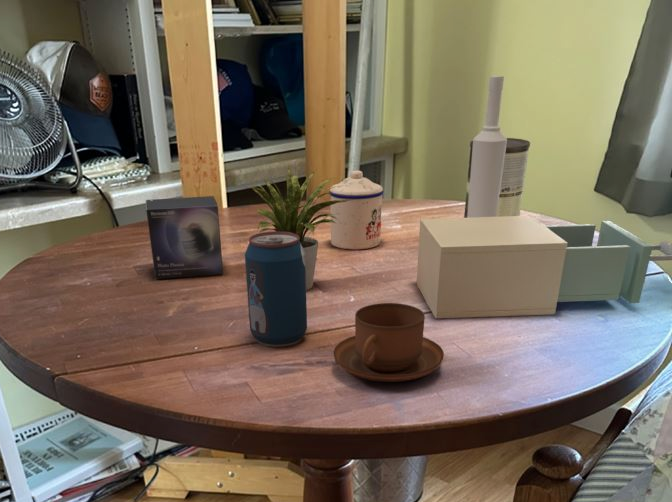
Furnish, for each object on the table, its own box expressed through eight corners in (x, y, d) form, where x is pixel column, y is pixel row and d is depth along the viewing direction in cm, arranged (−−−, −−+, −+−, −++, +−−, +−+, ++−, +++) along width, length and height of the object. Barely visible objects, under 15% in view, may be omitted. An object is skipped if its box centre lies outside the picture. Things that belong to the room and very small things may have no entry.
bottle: (500, 247, 118) (522, 76, 104) (478, 252, 115) (497, 78, 102) (478, 241, 121) (496, 74, 108) (456, 246, 119) (471, 76, 105)
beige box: (521, 280, 103) (531, 215, 98) (555, 314, 91) (567, 242, 86) (416, 283, 102) (420, 219, 97) (435, 318, 90) (441, 246, 85)
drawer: (647, 270, 102) (660, 219, 98) (693, 301, 91) (710, 244, 87) (500, 276, 102) (507, 224, 98) (528, 307, 90) (537, 249, 86)
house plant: (292, 312, 93) (287, 181, 84) (223, 291, 101) (212, 169, 92) (360, 286, 102) (362, 164, 93) (291, 268, 110) (287, 155, 101)
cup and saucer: (441, 395, 72) (446, 338, 68) (325, 388, 74) (325, 332, 70) (443, 349, 82) (448, 298, 78) (341, 344, 83) (341, 294, 80)
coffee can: (451, 224, 131) (458, 142, 124) (484, 215, 137) (492, 136, 129) (497, 234, 125) (507, 147, 117) (530, 223, 131) (541, 140, 123)
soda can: (313, 329, 88) (310, 231, 81) (299, 351, 82) (296, 246, 76) (260, 326, 89) (253, 229, 83) (243, 346, 83) (235, 244, 77)
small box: (154, 281, 106) (144, 208, 100) (154, 268, 111) (144, 199, 106) (224, 275, 108) (218, 203, 102) (220, 263, 113) (214, 194, 107)
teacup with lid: (376, 251, 117) (378, 177, 111) (323, 249, 119) (322, 175, 113) (388, 234, 127) (391, 164, 120) (339, 231, 129) (340, 163, 122)
